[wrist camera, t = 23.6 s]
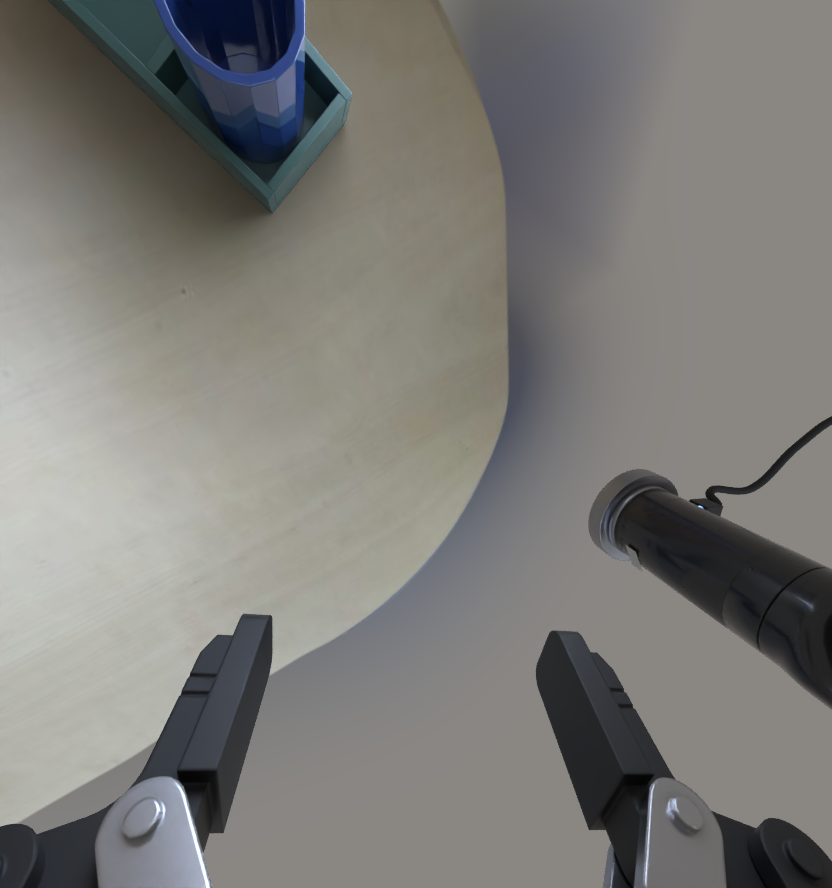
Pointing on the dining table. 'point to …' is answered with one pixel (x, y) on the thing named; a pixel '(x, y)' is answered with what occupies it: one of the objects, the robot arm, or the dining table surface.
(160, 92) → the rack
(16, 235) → the dining table surface
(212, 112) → the cup
